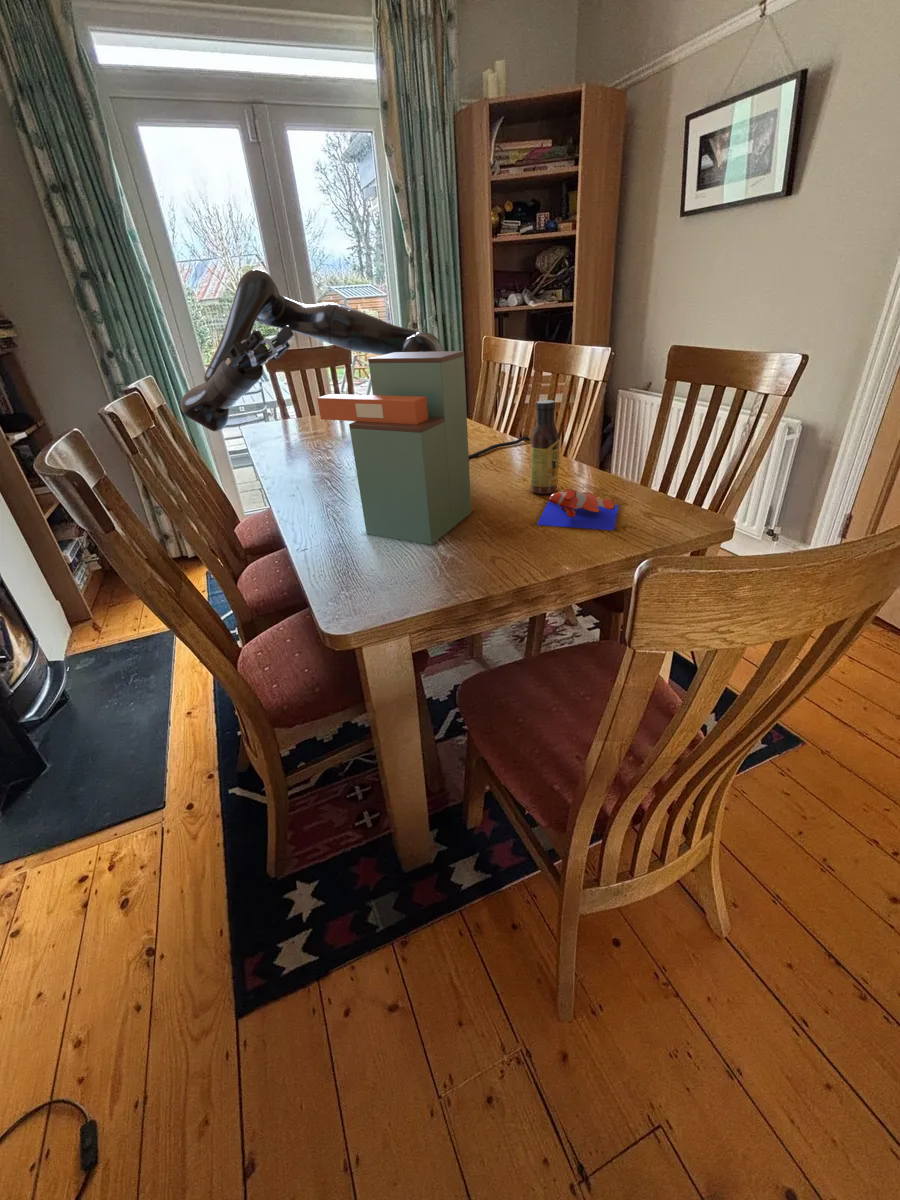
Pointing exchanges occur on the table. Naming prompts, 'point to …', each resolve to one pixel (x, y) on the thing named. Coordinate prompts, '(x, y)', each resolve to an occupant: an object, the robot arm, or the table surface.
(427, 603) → the table surface
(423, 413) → the box
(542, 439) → the sauce bottle
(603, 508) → the fish
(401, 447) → the stand
